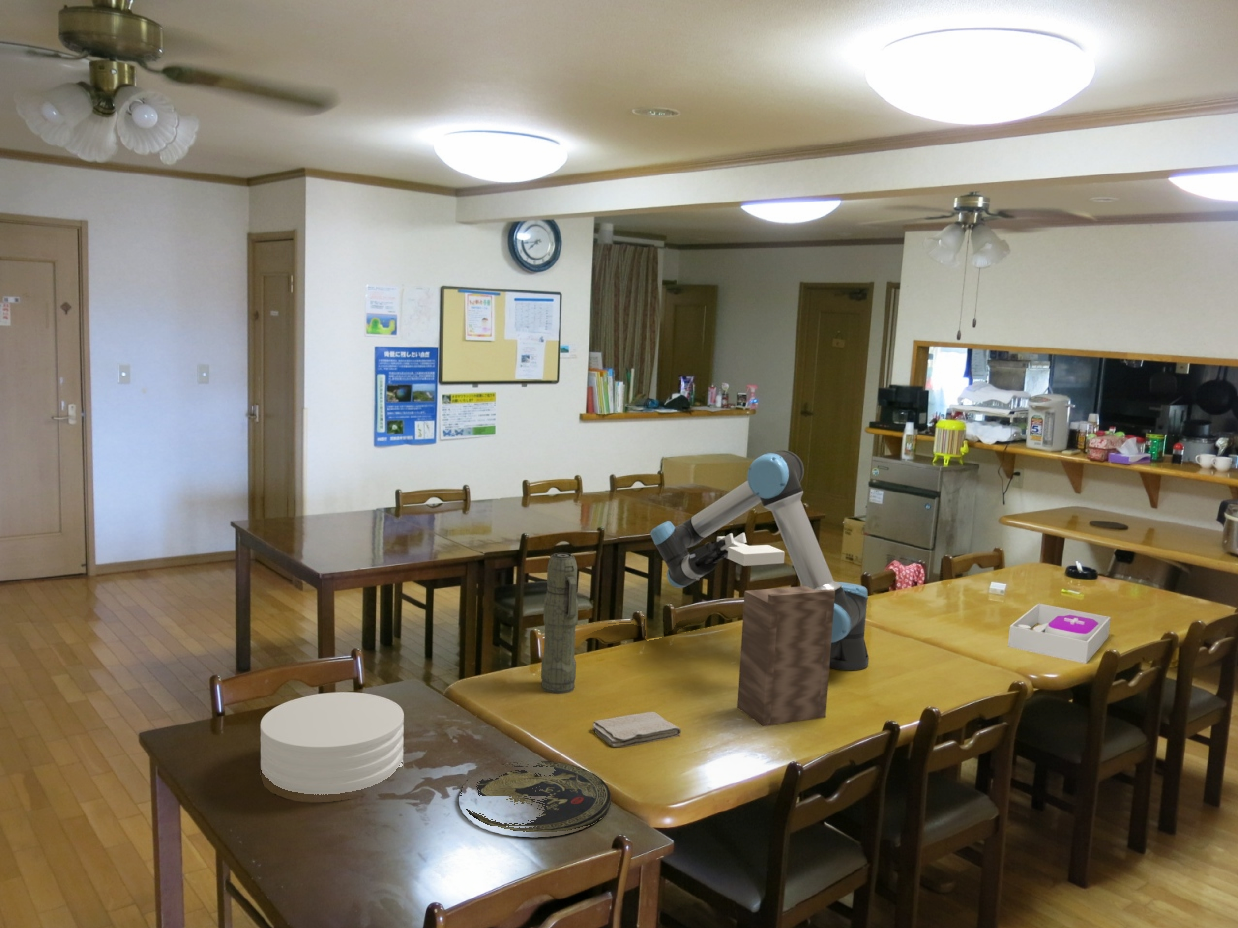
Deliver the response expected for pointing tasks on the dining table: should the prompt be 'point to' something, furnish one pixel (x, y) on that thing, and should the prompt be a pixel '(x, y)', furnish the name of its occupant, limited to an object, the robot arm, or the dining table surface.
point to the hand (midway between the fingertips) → (738, 537)
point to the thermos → (560, 625)
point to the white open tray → (1060, 633)
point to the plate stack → (332, 742)
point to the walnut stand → (785, 654)
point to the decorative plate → (571, 793)
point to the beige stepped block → (753, 554)
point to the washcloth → (635, 729)
